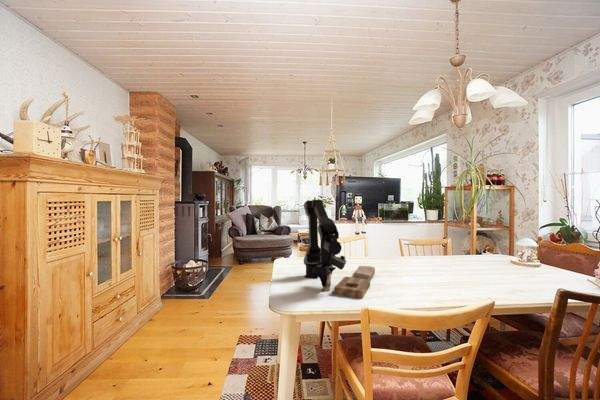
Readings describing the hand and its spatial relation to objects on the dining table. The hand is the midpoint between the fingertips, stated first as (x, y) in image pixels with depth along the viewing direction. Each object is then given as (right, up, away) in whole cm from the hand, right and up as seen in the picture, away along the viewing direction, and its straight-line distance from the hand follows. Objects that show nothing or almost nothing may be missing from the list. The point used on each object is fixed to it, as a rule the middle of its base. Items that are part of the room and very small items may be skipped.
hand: (326, 285), depth 127 cm
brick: (+22, -3, +20) cm, 30 cm away
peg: (0, -2, 0) cm, 2 cm away
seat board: (+12, -2, 0) cm, 12 cm away
